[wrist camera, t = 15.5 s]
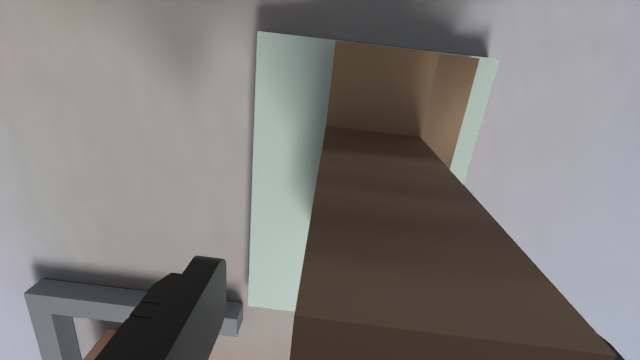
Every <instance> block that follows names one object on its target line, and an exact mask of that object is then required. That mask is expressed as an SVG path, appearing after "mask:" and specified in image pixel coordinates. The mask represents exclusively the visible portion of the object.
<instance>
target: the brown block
mask: <svg viewBox="0 0 640 360" xmlns="http://www.w3.org/2000/svg"><path fill="white" fill-rule="evenodd" d="M479 59H480V58H472V57H464V56H455V55H447V54H440V53H438V52H430V51H421V50H413V49H404V48H396V47H387V46H379V45H370V44H362V43H353V42H345V41H336V43H335V51H334V60H333V69H332V77H331V86H330V94H329V103H328V111H327V120H326V128H325V134H324V140H323V146H322V152H321V158H320V164H319V170H318V176H317V182H316V188H315V194H314V200H313V206H312V212H311V218H310V224H309V230H308V236H307V242H306V249H305V255H304V261H303V267H302V273H301V279H300V285H299V291H298V297H297V303H296V309H295V315H294V324H293V334H292V344H291V353H290V360H615V359H616V357H617V355H616V354H615V353H614V352H613V351H612V349H611V348H610V347H609V346H608V345H607V344H606V343H605V342H604V341H603V339H602V338H601V337H600V336H599V335H598V334H597V333H596V332H595V331H594V329H593V328H592V327H591V326H590V325H589V324H588V323H587V322H586V321H585V319H584V318H583V317H582V316H581V315H580V314H579V313H578V312H577V311H576V309H575V308H574V307H573V306H572V305H571V304H570V303H569V302H568V301H567V299H566V298H565V297H564V296H563V295H562V294H561V293H560V292H559V291H558V289H557V288H556V287H555V286H554V285H553V284H552V283H551V282H550V281H549V279H548V278H547V277H546V276H545V275H544V274H543V273H542V272H541V271H540V269H539V268H538V267H537V266H536V265H535V264H534V263H533V262H532V261H531V259H530V258H529V257H528V256H527V255H526V254H525V253H524V252H523V251H522V249H521V248H520V247H519V246H518V245H517V244H516V243H515V242H514V241H513V239H512V238H511V237H510V236H509V235H508V234H507V233H506V232H505V231H504V229H503V228H502V227H501V226H500V225H499V224H498V223H497V222H496V221H495V219H494V218H493V217H492V216H491V215H490V214H489V213H488V212H487V211H486V209H485V208H484V207H483V206H482V205H481V204H480V203H479V202H478V201H477V199H476V198H475V197H474V196H473V195H472V194H471V193H470V192H469V191H468V189H467V188H466V187H465V186H464V185H463V184H462V183H461V182H460V181H459V179H458V178H457V177H456V176H455V175H454V174H453V173H452V172H451V171H450V167H451V163H452V159H453V156H454V152H455V148H456V144H457V141H458V137H459V133H460V130H461V126H462V122H463V119H464V115H465V111H466V107H467V104H468V100H469V96H470V93H471V89H472V85H473V82H474V78H475V74H476V71H477V67H478V63H479Z"/></svg>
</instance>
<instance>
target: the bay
mask: <svg viewBox="0 0 640 360" xmlns="http://www.w3.org/2000/svg"><path fill="white" fill-rule="evenodd" d="M147 292H148V291H141V290H132V289H124V288H116V287H108V286H100V285H92V284H84V283H75V282H67V281H59V280H51V279H41V280H40V281H39V282H38V283H36V284H35V285H34V286H32V287H31V288H30V289H29V290H27V291H26V292H25V293H24V296H25V299H26V303H27V306H28V310H29V314H30V317H31V321H32V324H33V328H34V331H35V335H36V339H37V342H38V346H39V349H40V353H41V357H42V360H81V356H80V351H79V347H78V342H77V338H76V333H75V329H74V324H73V319H72V317H80V318H88V319H96V320H104V321H112V322H120V323H123V322H124V321H125V320H126V319H128V318H129V315H130V314H131V312H132V311H133V310H134V308H135V307H136V306H137V305H138V304H140V301H141V300H142V298H143V297H144V296H145V295H146V293H147ZM242 320H243V303H238V302H230V301H226V311H225V317H224V321H223V324H222V327H221V330H220V332H219V335H225V336H233V337H237V334H238V332H239V329H240V326H241V323H242Z"/></svg>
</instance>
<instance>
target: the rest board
mask: <svg viewBox="0 0 640 360" xmlns="http://www.w3.org/2000/svg"><path fill="white" fill-rule="evenodd" d="M336 41H340V40H331V39H323V38H314V37H305V36H297V35H288V34H279V33H271V32H262V31H257V52H256V82H255V111H254V141H253V170H252V199H251V229H250V258H249V288H248V306H253V307H261V308H269V309H277V310H285V311H294V312H295V309H296V303H297V297H298V291H299V285H300V279H301V273H302V267H303V261H304V255H305V249H306V242H307V236H308V230H309V224H310V218H311V212H312V206H313V200H314V194H315V188H316V182H317V176H318V170H319V164H320V158H321V152H322V146H323V140H324V134H325V128H326V120H327V111H328V103H329V94H330V86H331V77H332V69H333V60H334V51H335V43H336ZM345 42H349V41H345ZM353 43H357V42H353ZM362 44H366V43H362ZM370 45H374V44H370ZM379 46H383V45H379ZM387 47H392V46H387ZM396 48H400V47H396ZM404 49H409V48H404ZM413 50H418V49H413ZM421 51H426V50H421ZM430 52H435V51H430ZM438 53H440V54H447V55H455V56H464V57H472V58H480V59H479V63H478V67H477V71H476V74H475V78H474V82H473V85H472V89H471V93H470V96H469V100H468V104H467V107H466V111H465V115H464V119H463V122H462V126H461V130H460V133H459V137H458V141H457V144H456V148H455V152H454V156H453V159H452V163H451V167H450V171H451V172H452V173H453V174H454V175H455V176H456V177H457V178H458V179H459V181H460V182H461V183H462V184H463V185H464V182H465V178H466V175H467V171H468V168H469V164H470V161H471V158H472V154H473V151H474V147H475V144H476V140H477V137H478V133H479V130H480V127H481V123H482V120H483V116H484V113H485V109H486V106H487V103H488V99H489V96H490V92H491V89H492V85H493V82H494V78H495V75H496V72H497V68H498V65H499V61H500V59H496V58H487V57H478V56H470V55H461V54H452V53H444V52H438Z"/></svg>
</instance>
